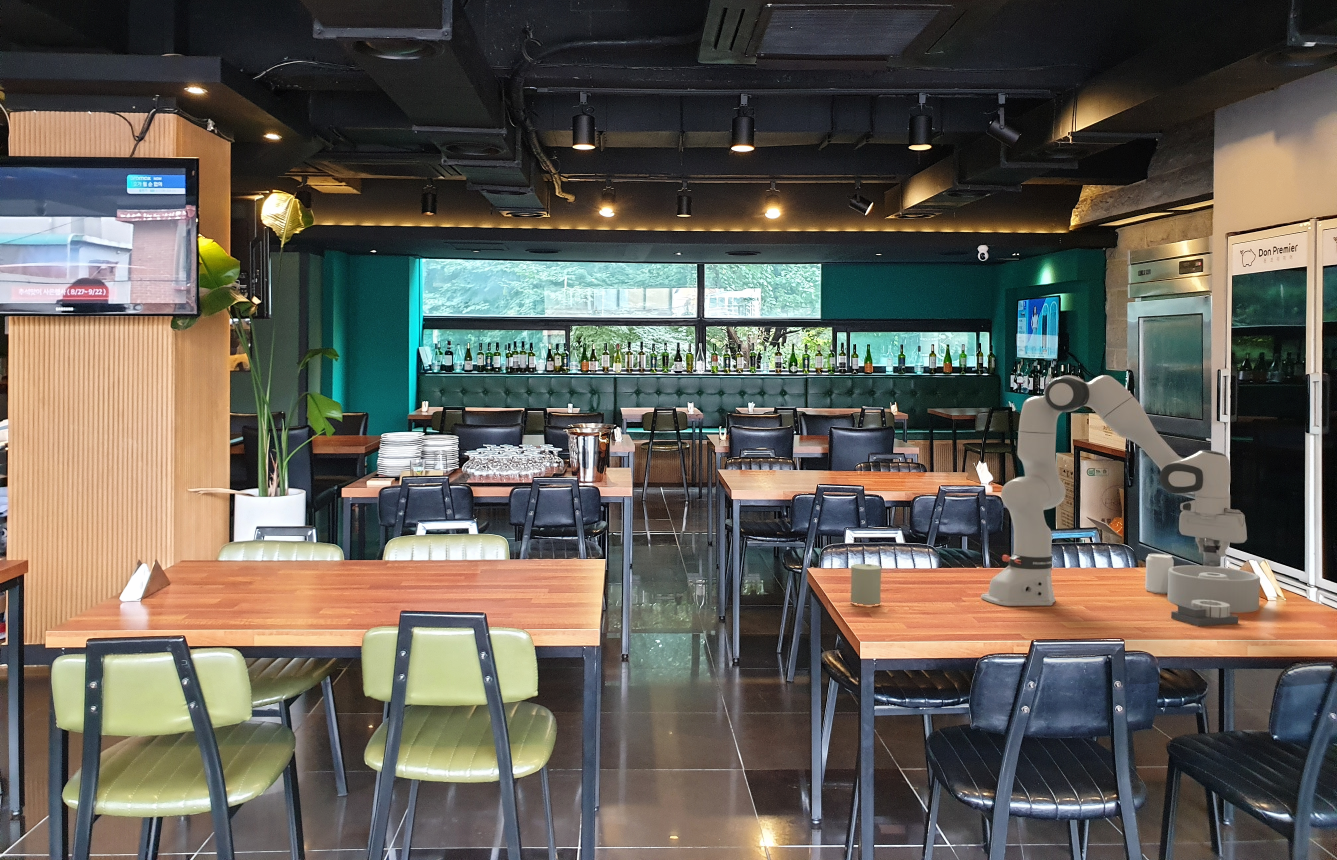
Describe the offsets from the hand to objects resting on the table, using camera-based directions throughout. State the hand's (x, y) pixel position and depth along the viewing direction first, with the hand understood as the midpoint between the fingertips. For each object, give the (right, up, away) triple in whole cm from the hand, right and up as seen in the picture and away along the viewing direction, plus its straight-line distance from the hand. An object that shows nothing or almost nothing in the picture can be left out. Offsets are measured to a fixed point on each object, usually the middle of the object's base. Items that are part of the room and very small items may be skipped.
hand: (1211, 554), depth 286 cm
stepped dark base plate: (-2, -19, 0) cm, 19 cm away
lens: (0, -3, 0) cm, 3 cm away
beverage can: (+5, -18, +41) cm, 45 cm away
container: (+13, -19, +24) cm, 33 cm away
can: (-96, -18, +19) cm, 99 cm away
